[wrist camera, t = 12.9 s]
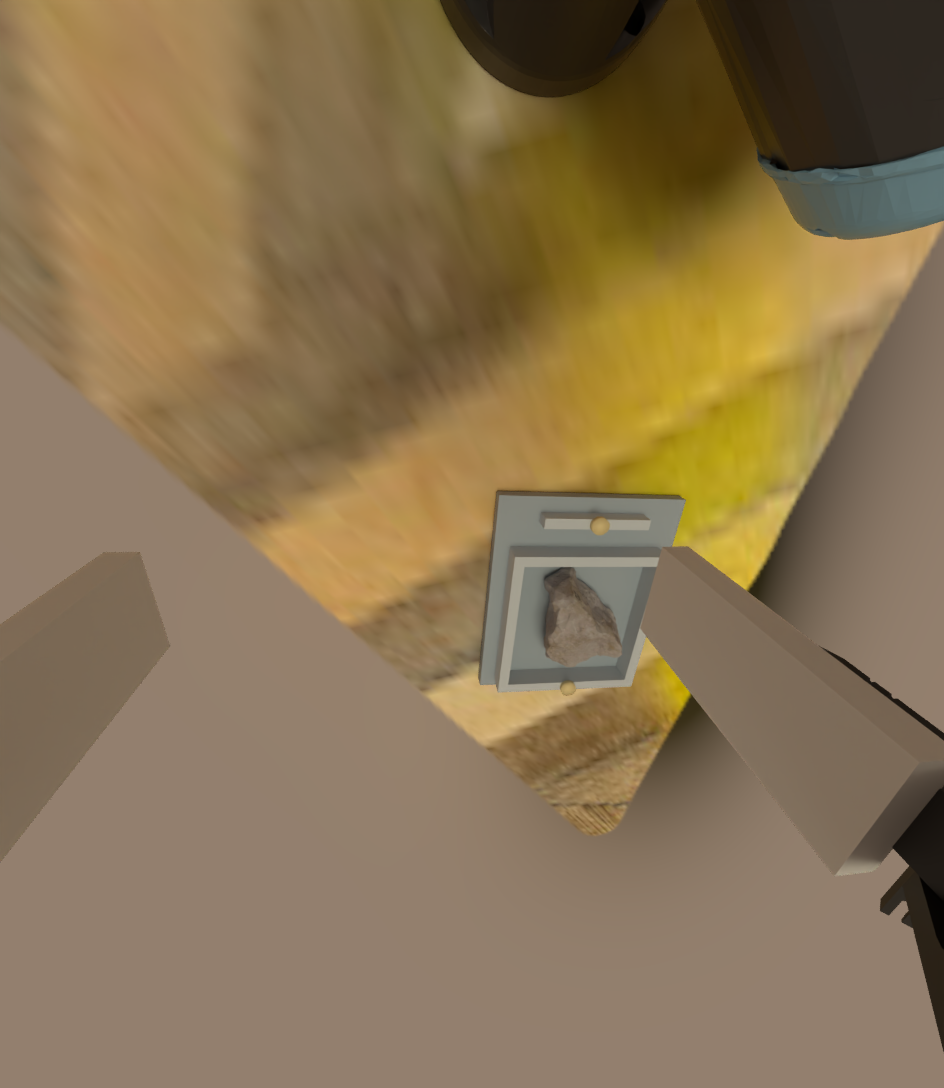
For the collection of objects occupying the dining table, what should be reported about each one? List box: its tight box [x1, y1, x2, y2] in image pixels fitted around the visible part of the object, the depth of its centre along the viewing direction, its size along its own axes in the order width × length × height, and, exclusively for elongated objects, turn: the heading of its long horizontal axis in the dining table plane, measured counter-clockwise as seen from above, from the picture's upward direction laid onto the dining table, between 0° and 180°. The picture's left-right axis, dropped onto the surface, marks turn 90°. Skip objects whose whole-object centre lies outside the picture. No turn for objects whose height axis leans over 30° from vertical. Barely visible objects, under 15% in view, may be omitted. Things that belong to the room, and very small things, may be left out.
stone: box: [544, 567, 622, 667], centre depth 41 cm, size 8×10×6 cm
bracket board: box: [478, 491, 686, 696], centre depth 43 cm, size 22×18×4 cm
